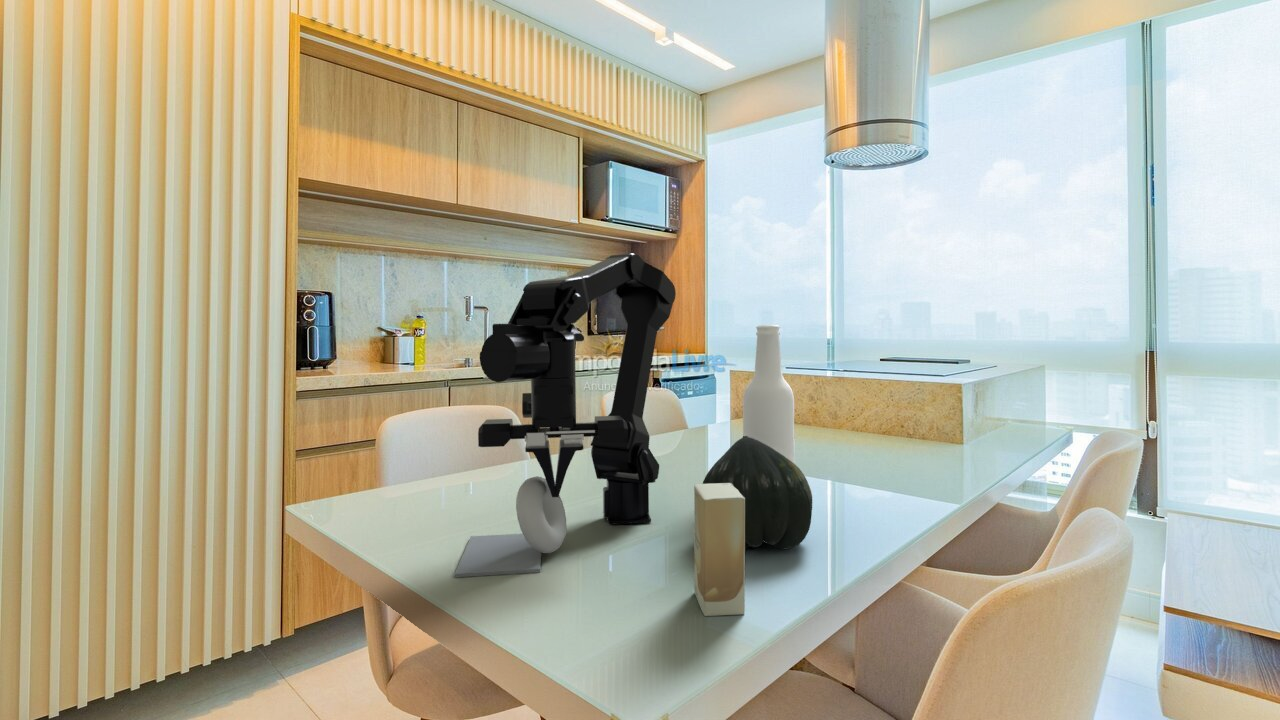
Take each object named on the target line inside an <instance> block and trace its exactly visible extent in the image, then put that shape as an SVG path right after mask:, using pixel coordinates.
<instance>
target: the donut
mask: <svg viewBox="0 0 1280 720" xmlns="http://www.w3.org/2000/svg"><path fill="white" fill-rule="evenodd" d="M515 499H516V500H515V510H516V517H517V522H518V524H519V528H520V531H521V534H523V535H524V537H525V539H526V541H527V542H528V543H529V545H530V546H532V547H533V548H534V549H535V550H537V551H538V552H541V554H542V553H544V554H552V553H553V552H555V551H556V550H558V549H559V548H560V547H561V546H562V545H563V542H564V540H565V538H566V534H567V516H566V510H565V506H564V503H563V500H562V498H561V495H560V494H559V497H552V495H551V492H550V490H549V487H548V484H547V481H546V478H545V477H541V476H533V477H530V478H527V479H525V480H524V481H523V483H521V485H520V486H519V488H518V491H517V494H516V498H515Z"/></svg>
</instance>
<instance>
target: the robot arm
mask: <svg viewBox="0 0 1280 720" xmlns="http://www.w3.org/2000/svg"><path fill="white" fill-rule="evenodd" d="M522 290H523V293H522V295H521V297H520V299H519V301H518V303H517V305H516V307H515V309H514V310H513V313H512V314H511V317H510V318H509V321H508V323H492V334H490V335H489V336H488V337H487V338H486V339H485V340H484V342H483V344H482V348H481V351H480V352H479V364H480V366H481V367H480V368H481V370H482V371H483V373H484V375H485V376H486V377H487V379H489V380H491V381H492V382H495V383H503V382H504V383H505V382H506V383H507V382H513V381H514V382H516V381H525V380H530V391H531V392H523V393H522V398H521V399H522V401H521V410H522V411H521V413H522V417H523V418H524V419H526V418H529V419H531V424H529V423H528V424H527V423H526V424H513V423H514V422H513V418H498V419H497V418H496V419H494V418H493V419H492V418H491V419H485V420H484V422H483V423H481V425H480V426H479V427H478V430H477V431H478V432H477V435H478V436H477V438H478V439H477V442H478V444H477V445H478V447H480V448H495V447H505V446H506V445H507V444H508V443H509V442H510V441H511V440H524V442H525V447H524V450H525V452H526V453H533V454H534V456H535V458H536V460H537V462H538V464H539V466H540V468H541V470H542V473H543V475H544V478H545V479H546V481H547V484H548V487H549V490H550V492H551V495H552V497H559V495H560V493H561V491H562V487H563V483H564V480H565V477H566V474H567V471H568V469H569V466H570V464H571V461H572V460H573V458H574V456H575V454H576V452H578V451H579V452H580V451H584V443H583V440H584V438H590V437H592V441H591V442H590V446H591V449H590V450H591V453H590V455H591V461H592V463H593V468H594V472H595V475H596V479H599V480H606V486H603V488H602V501H603V502H602V504H603V505H602V507H603V509H602V511H603V516H604V517H605V519H607V520H606V521H607V523H608V524H609V525H621V524H622V525H625V524H626V525H627V524H641V523H645V524H646V523H651V522H652V518H651V516H650V509H649V508H650V506H649V505H650V499H649V497H650V492H649V490H650V489H649V485H650V484H652V483H656V480H658V478H659V473H660V464H659V462H658V460H657V459H656V457H655V456H654V454H653V453H652V451H651V449H650V434H649V432H648V428H647V426H646V424H645V421H644V410H645V405H646V398H647V395H648V394H647V393H648V388H649V381H650V377H651V376H650V375H651V370H652V363H653V357H654V351H655V347H656V340H657V336H658V335H657V334H658V332H659V330H660V329H661V328H662V326H663V325H664V324H665V323H666V322H667V321H668V320H669V318H670V316H671V312H672V309H673V305H674V302H675V300H676V295H677V294H676V293H677V292H676V287H675V284H674V283H673V282H672V281H671V280H670V278H669V277H668V276H667V275H666V274H665V272H664V271H663V270H661V269H659V268H657V267H655V266H653V265H651V264H649V263H647V262H646V261H644V260H643V259H642V257H641V256H640V255H639V254H635V253H633V252H632V253H622V254H621V253H619V254H618V253H617V254H611V255H609V256H608V257H606V258H605V259H604V260H601V261H599V262H597V263H595V264H593V265H590V266H588V267H586V268H584V269H581V270H580V271H577V272H575V273H573V274H571V275H569V276H565V277H557V278H556V277H555V278H549V279H548V278H547V279H542V280H535V281H534V280H533V281H529V282H528V283H527V284H525V285H524V286H523V289H522ZM611 291H612V293H613V295H614V296H615V297H616V298H617V299H619V300H620V301H621V302H620V310H621V313H622V316H623V318H624V320H625V322H626V329H625V336H624V340H623V346H622V352H621V358H620V363H619V368H618V373H617V379H616V386H615V390H614V394H613V395H614V396H613V400H612V401H613V402H612V406H611V411H610V413H609V414H608V415H600V416H598V415H597V416H594V421H592V422H577V402H576V401H577V396H576V395H577V391H576V390H577V389H576V387H577V386H576V385H577V384H576V342H584V341H585V336H584V334H582V332H580V331H579V330H578V329H577V328H576V327H575V326H576V325H574V324H575V323H577V322H578V321H579V320H580V319H581V318H583V316H585V315H586V314H587V313H588V312H589V310H590V304H591V303H592V302H593V301H594V300H596V299H598V298H600V297H602V296H603V295H605V294H606V295H607V293H609V292H611ZM554 438H555V439H556V438H558V439H559V438H560V439H559V445H558V455H557V465H556V471H555V474H556V475H555V474H554V468H553V462H552V454H551V448H550V441H549V439H554Z"/></svg>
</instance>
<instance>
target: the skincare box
mask: <svg viewBox="0 0 1280 720" xmlns="http://www.w3.org/2000/svg"><path fill="white" fill-rule="evenodd" d="M693 487H694V490H693V491H694V493H693V494H694V501H693V502H694V503H693V504H694V505H693V508H694V511H693V512H694V514H693V515H694V522H693V523H694V533H693V534H694V538H693V539H694V543H693V545H694V547H693V548H694V550H693V551H694V562H693V563H694V565H693V566H694V567H693V569H694V574H693V575H694V578H693V581H694V583H693V584H694V585H693V586H694V588H693V589H694V595H695V598H696V600H697V603H698V605H699V608H700V609H701V612H702V614H703V615H704V616H705V617H710V616H711V617H714V616H733V615H736V616H737V615H738V616H739V615H745V610H746V608H745V600H746V599H745V595H746V594H745V591H746V590H745V585H746V584H745V583H746V582H745V581H746V577H745V570H746V567H745V566H746V565H745V564H746V560H745V559H746V556H745V555H746V554H745V553H746V548H745V498H744V497H743V496H742V494H741V493H740V492H739V491H738V490H737V489H736V488H735V487H734V486H733V485H732V483H714V484H703V483H698V484H697V483H695V484H694V486H693Z"/></svg>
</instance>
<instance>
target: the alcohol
mask: <svg viewBox="0 0 1280 720" xmlns="http://www.w3.org/2000/svg"><path fill="white" fill-rule="evenodd" d="M755 328H756V331H757V332H756V348H755V351H756V352H755V362H754V363H755V364H754V365H755V366H754V374H753V377H752V379H751V380H750V382H749V383H748V384H747V385H746V387H744V391H743V396H742V437H743V436H748V437H750V438H753V439H756V440H758V441H760V442H762V443H764V444H766V445H768V446H769V447H771V448H772V449H774V450H775V451H777V452H779V453H780V454H782V455H783V456H785V457H786V458H787V459H789V460H790V461H792V462H793V463H794V464H795V397H794V392H793V389H792V387H791V386H790V385H789V383H788V381H786V379H785V378H784V374H783V369H782V358H781V357H782V356H781V345H780V336H781V335H780V334H781V333H780V328H781V327H780V325H778V324H760V325H757V326H756V327H755Z"/></svg>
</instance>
